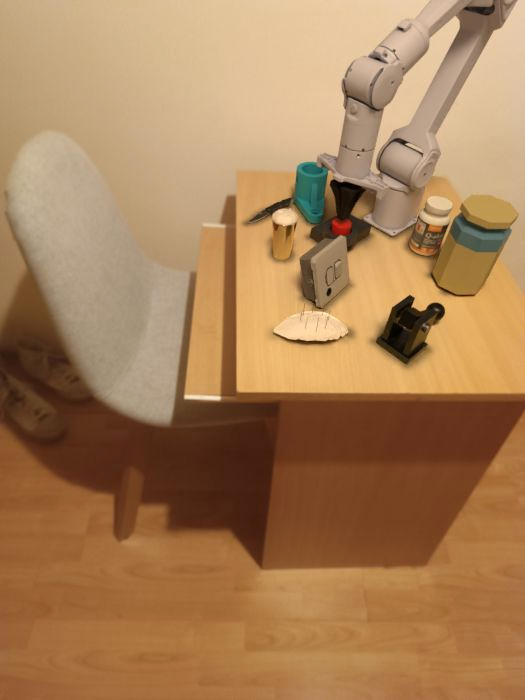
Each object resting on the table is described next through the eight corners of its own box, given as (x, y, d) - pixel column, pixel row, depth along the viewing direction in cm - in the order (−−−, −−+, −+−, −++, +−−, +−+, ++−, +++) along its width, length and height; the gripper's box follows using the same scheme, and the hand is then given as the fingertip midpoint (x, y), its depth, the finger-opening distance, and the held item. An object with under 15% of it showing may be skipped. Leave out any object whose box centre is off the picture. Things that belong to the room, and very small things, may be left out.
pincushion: (274, 347, 72) (277, 321, 67) (272, 320, 76) (274, 293, 71) (351, 347, 72) (358, 321, 68) (344, 319, 76) (351, 293, 72)
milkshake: (298, 249, 89) (304, 202, 81) (287, 265, 85) (293, 217, 78) (277, 243, 90) (280, 195, 83) (265, 258, 87) (268, 210, 79)
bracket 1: (320, 192, 103) (325, 161, 98) (331, 223, 95) (337, 191, 90) (291, 193, 102) (294, 161, 97) (299, 223, 95) (303, 191, 89)
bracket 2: (394, 328, 76) (408, 291, 70) (425, 349, 73) (442, 313, 67) (375, 342, 73) (387, 306, 68) (406, 364, 70) (422, 328, 65)
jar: (482, 304, 81) (521, 229, 70) (428, 291, 82) (459, 216, 71) (482, 273, 87) (519, 200, 76) (432, 261, 88) (461, 188, 77)
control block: (343, 220, 97) (346, 202, 94) (376, 239, 92) (380, 221, 89) (305, 239, 91) (307, 221, 88) (338, 261, 87) (342, 243, 84)
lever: (426, 313, 78) (435, 298, 76) (441, 323, 76) (451, 307, 75) (394, 322, 69) (404, 305, 68) (410, 333, 68) (421, 316, 66)
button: (339, 223, 89) (341, 215, 88) (353, 231, 87) (355, 223, 86) (326, 229, 87) (328, 221, 86) (341, 238, 86) (343, 230, 84)
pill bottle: (421, 260, 88) (438, 213, 81) (402, 243, 92) (417, 198, 84) (444, 252, 90) (462, 207, 83) (424, 237, 94) (440, 191, 86)
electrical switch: (320, 311, 78) (324, 264, 71) (295, 299, 80) (296, 253, 74) (349, 284, 83) (355, 238, 76) (325, 274, 85) (328, 228, 79)
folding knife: (250, 223, 93) (243, 219, 94) (250, 228, 94) (243, 223, 95) (296, 199, 99) (289, 195, 100) (295, 203, 100) (289, 199, 101)
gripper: (308, 134, 77) (299, 207, 87) (377, 168, 70) (359, 243, 80) (336, 123, 80) (325, 195, 90) (405, 155, 73) (384, 229, 83)
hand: (342, 217), depth 85 cm, fingers closed
